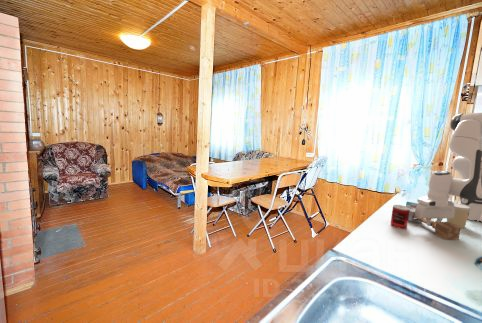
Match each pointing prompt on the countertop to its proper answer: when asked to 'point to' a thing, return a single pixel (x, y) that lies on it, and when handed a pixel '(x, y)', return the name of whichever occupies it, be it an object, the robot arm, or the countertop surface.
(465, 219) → the coffee cup
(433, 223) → the tube
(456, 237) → the socket
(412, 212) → the sleeve
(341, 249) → the countertop surface
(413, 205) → the blue thin box
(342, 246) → the countertop surface
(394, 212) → the canned food
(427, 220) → the robot arm
